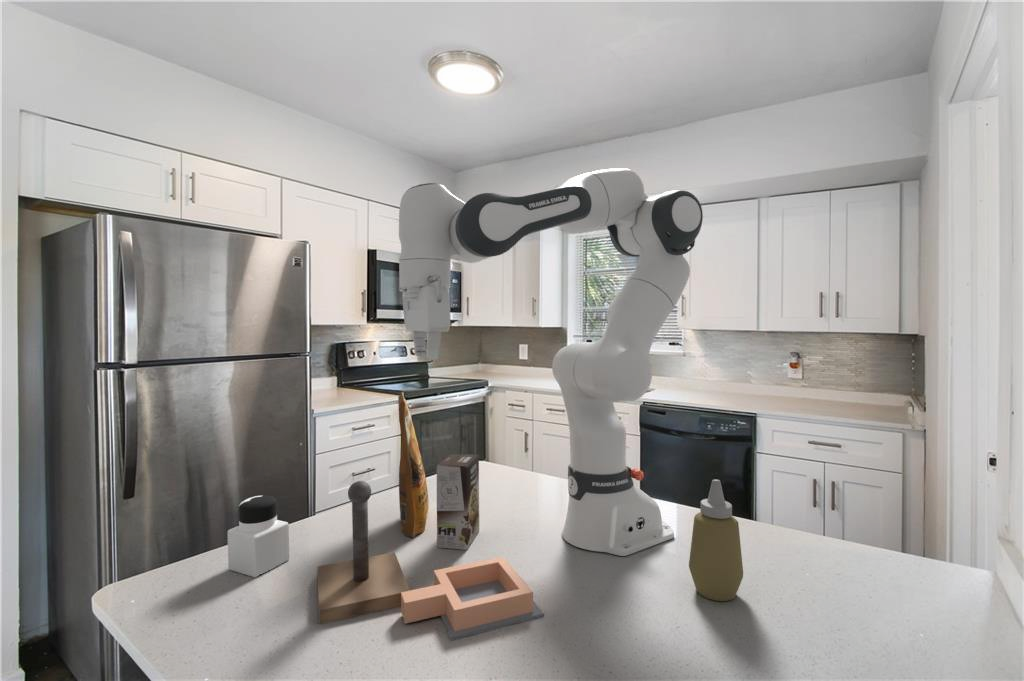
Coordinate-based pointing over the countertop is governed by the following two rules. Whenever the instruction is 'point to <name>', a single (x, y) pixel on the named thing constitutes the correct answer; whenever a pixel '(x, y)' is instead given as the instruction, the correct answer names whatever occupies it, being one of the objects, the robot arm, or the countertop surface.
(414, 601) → the frame
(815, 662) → the countertop surface
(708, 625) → the countertop surface
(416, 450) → the pancake mix bag
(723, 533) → the squeeze bottle
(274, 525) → the medicine bottle
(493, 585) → the mat
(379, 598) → the stand
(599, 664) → the countertop surface
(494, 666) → the countertop surface
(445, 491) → the coffee box
